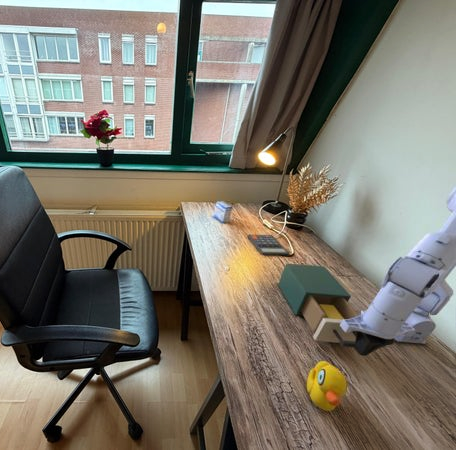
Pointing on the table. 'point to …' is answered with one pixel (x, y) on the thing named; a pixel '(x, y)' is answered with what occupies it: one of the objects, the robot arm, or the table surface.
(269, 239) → the calculator
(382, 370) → the table surface
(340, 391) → the duckling
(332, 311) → the block
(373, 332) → the robot arm
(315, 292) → the cabinet
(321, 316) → the drawer
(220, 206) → the medicine box
